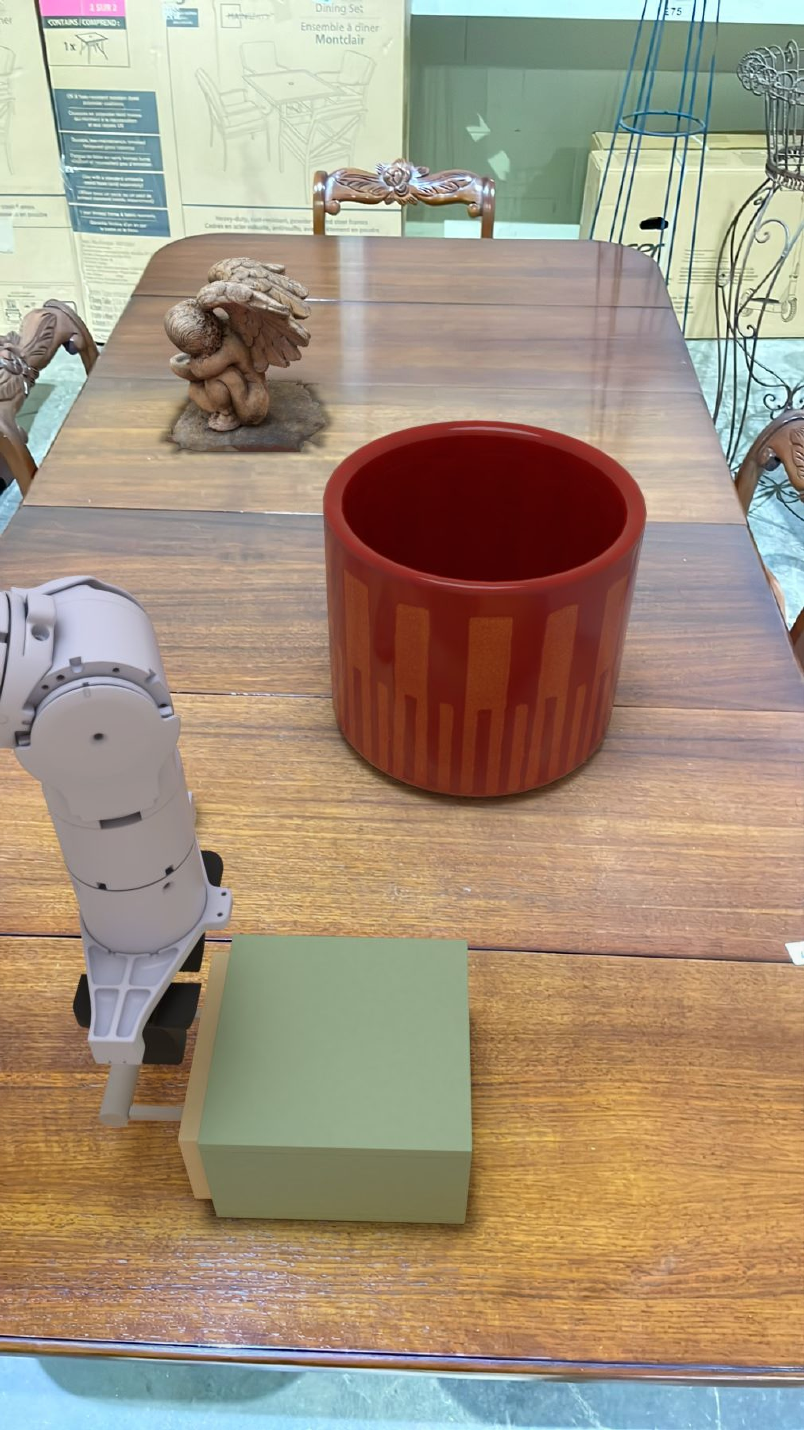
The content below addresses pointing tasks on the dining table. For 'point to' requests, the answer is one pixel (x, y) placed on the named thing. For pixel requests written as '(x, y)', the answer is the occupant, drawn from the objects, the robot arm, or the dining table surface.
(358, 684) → the planter
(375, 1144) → the cabinet
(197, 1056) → the drawer
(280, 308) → the cherub figurine
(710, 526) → the dining table surface
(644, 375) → the dining table surface
